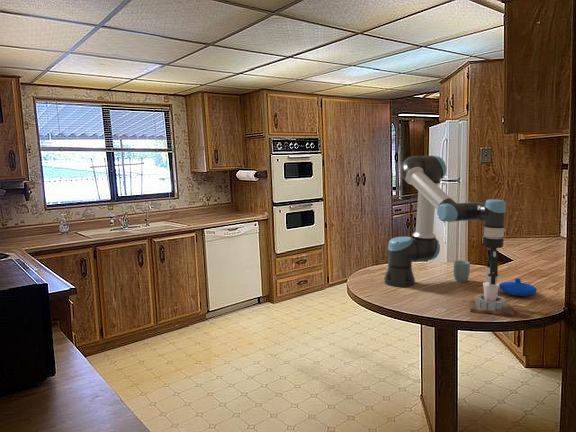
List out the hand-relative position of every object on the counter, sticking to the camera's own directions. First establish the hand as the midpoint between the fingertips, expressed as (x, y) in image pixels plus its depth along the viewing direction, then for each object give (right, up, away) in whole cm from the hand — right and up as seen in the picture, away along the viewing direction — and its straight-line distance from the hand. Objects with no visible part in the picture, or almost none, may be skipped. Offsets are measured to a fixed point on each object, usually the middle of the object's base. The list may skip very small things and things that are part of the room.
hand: (490, 286), depth 183 cm
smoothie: (0, -9, +1) cm, 9 cm away
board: (0, -10, +1) cm, 10 cm away
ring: (0, -8, +1) cm, 8 cm away
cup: (+5, -4, +44) cm, 44 cm away
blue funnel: (+22, -7, +22) cm, 32 cm away
